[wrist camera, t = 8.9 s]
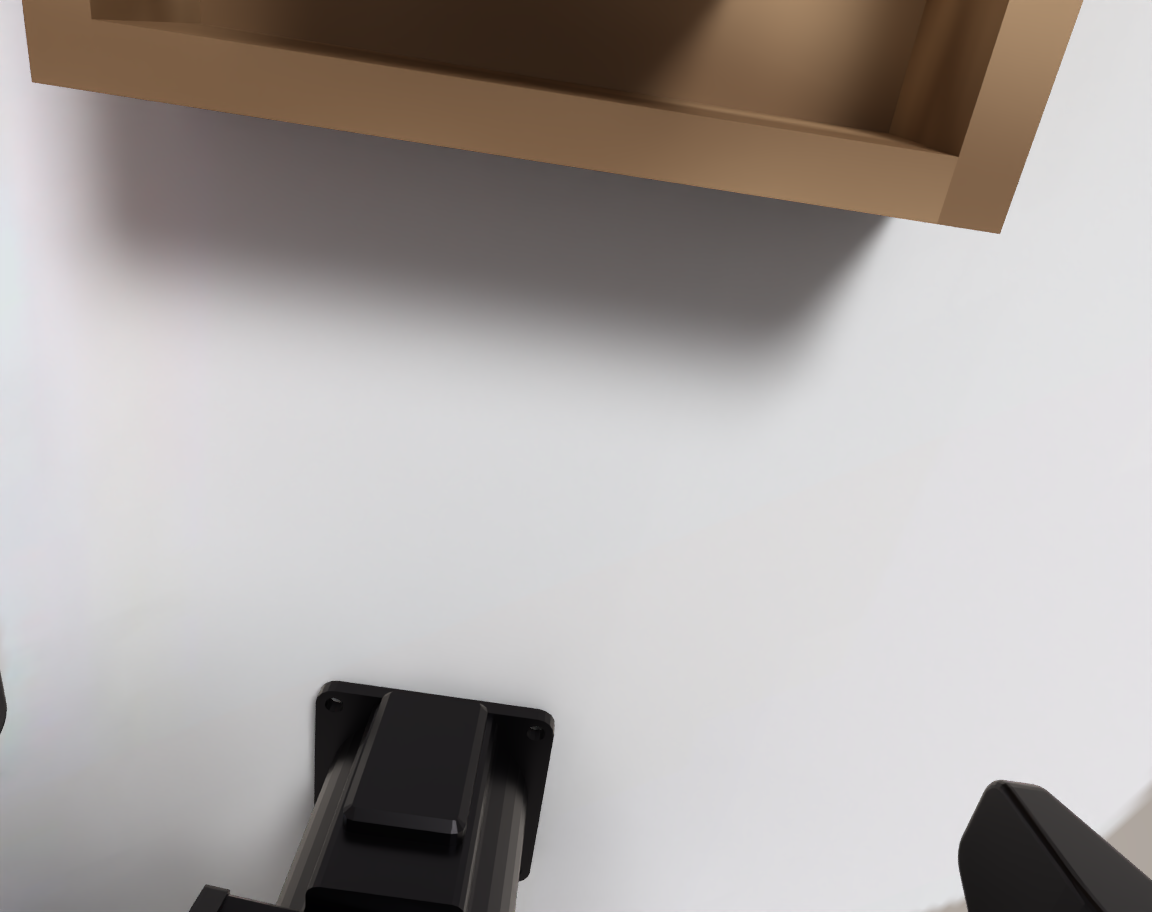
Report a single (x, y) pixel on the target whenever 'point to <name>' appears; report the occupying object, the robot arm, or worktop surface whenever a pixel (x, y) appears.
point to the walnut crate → (617, 84)
